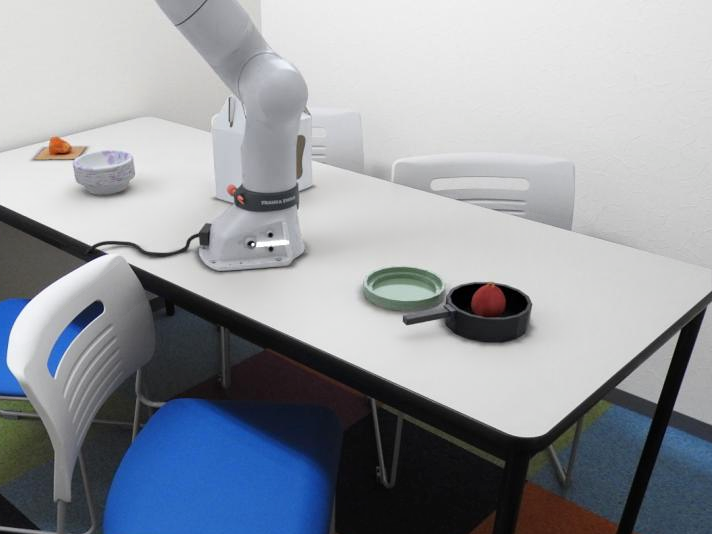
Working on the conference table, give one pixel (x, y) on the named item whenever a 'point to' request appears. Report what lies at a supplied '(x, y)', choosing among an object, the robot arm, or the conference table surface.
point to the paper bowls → (104, 171)
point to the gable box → (228, 148)
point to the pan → (478, 327)
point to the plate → (404, 287)
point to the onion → (488, 301)
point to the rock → (59, 150)
